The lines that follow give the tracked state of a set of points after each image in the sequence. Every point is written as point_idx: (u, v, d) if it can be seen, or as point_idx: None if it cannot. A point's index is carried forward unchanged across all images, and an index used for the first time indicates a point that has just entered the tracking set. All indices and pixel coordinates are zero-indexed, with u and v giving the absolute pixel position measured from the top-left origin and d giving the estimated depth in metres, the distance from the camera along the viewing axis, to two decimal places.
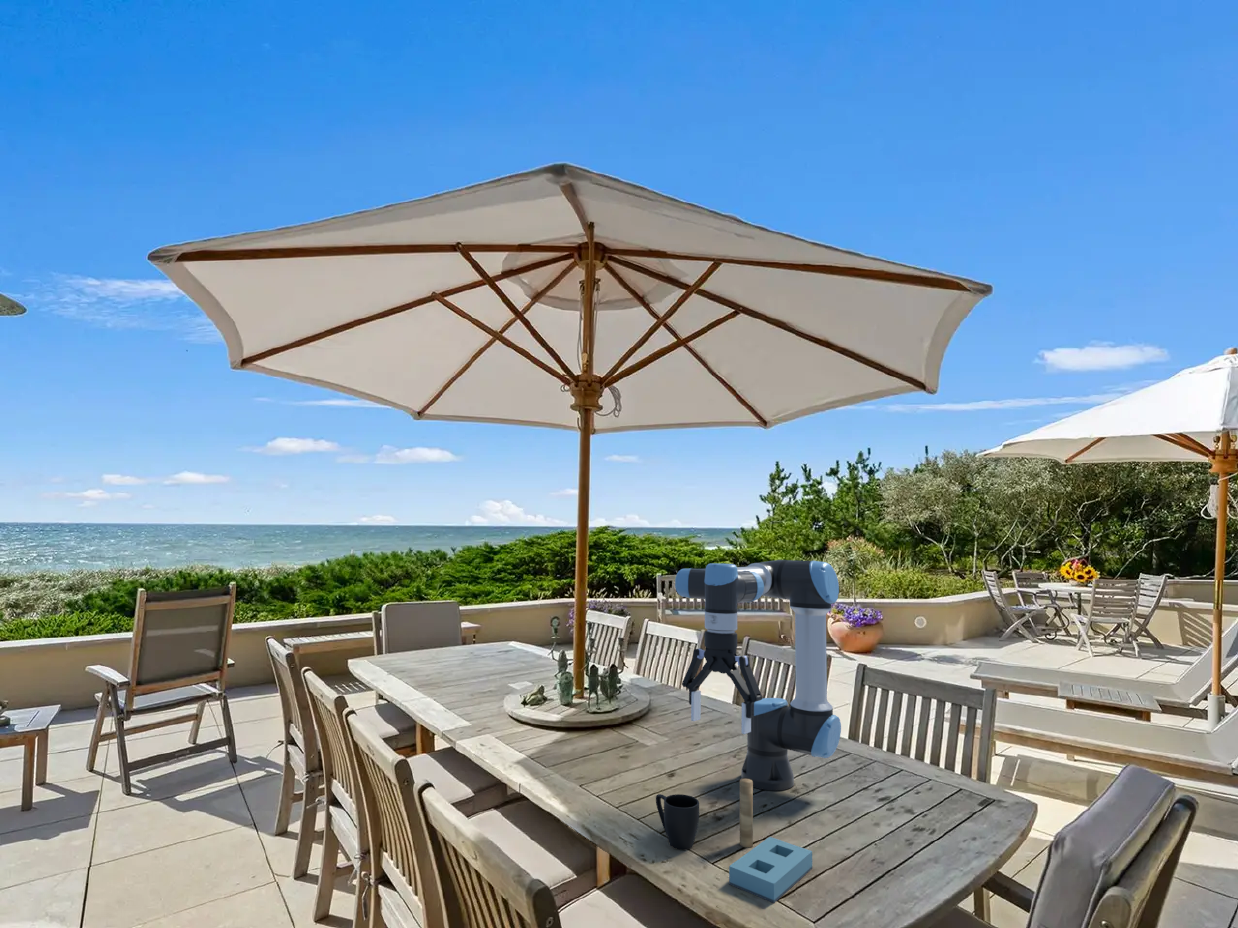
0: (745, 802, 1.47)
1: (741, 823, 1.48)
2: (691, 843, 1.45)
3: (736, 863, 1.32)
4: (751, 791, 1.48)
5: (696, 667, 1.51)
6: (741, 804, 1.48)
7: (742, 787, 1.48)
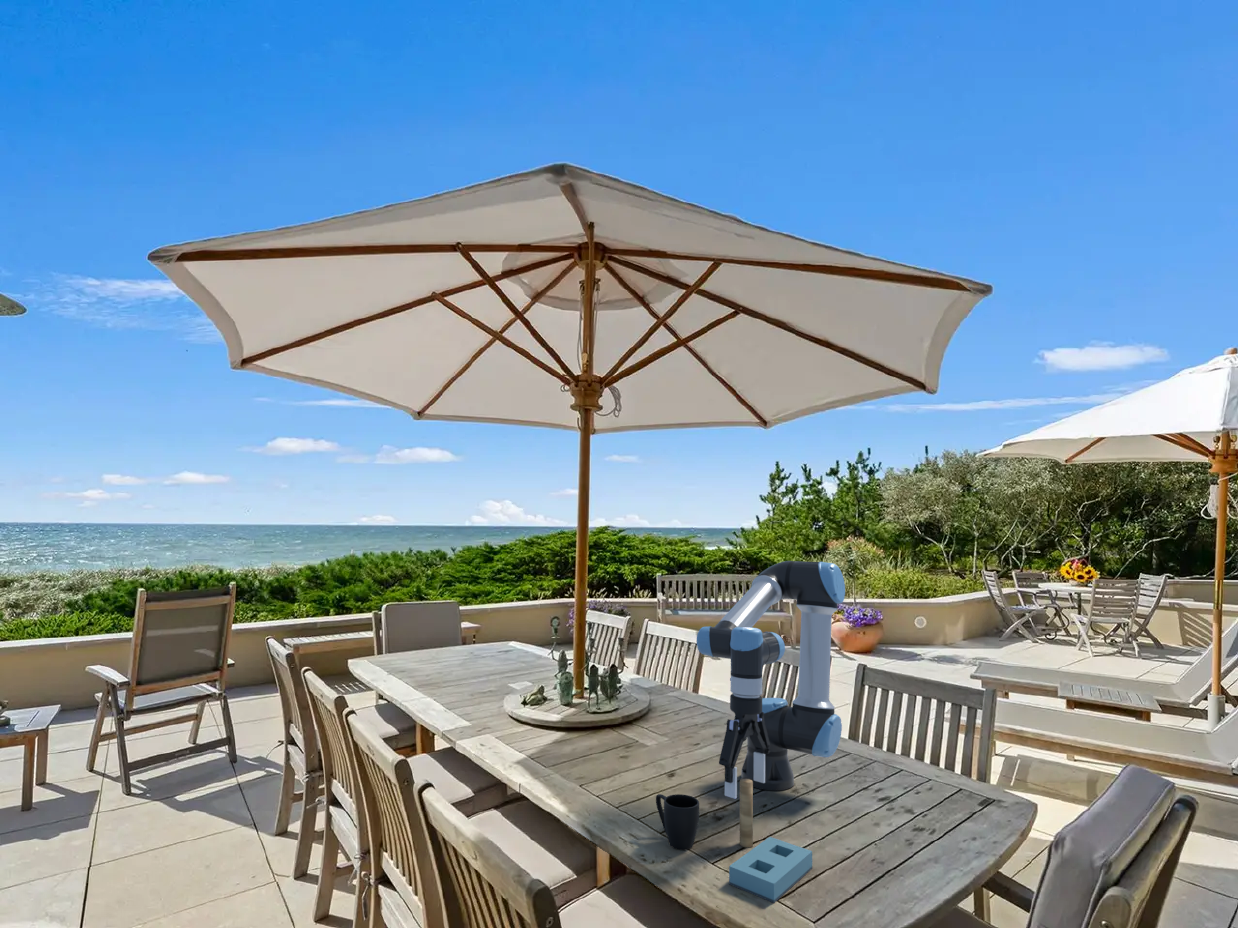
0: (745, 802, 1.47)
1: (741, 823, 1.48)
2: (691, 843, 1.45)
3: (736, 863, 1.32)
4: (751, 791, 1.48)
5: (760, 730, 1.56)
6: (741, 804, 1.48)
7: (742, 787, 1.48)
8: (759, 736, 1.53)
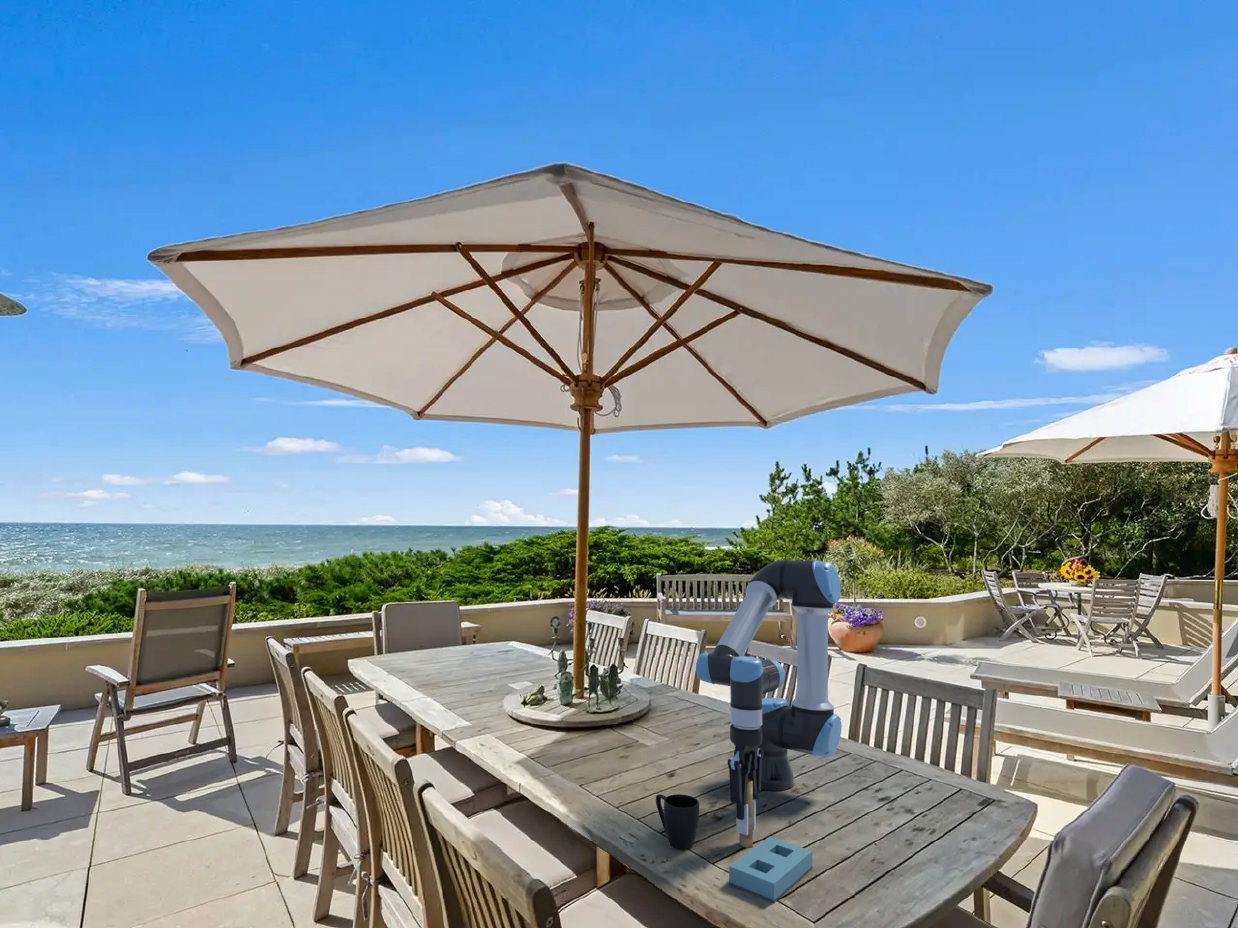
0: None
1: None
2: (691, 843, 1.45)
3: (736, 863, 1.32)
4: (751, 791, 1.48)
5: (755, 768, 1.53)
6: None
7: None
8: (754, 774, 1.50)
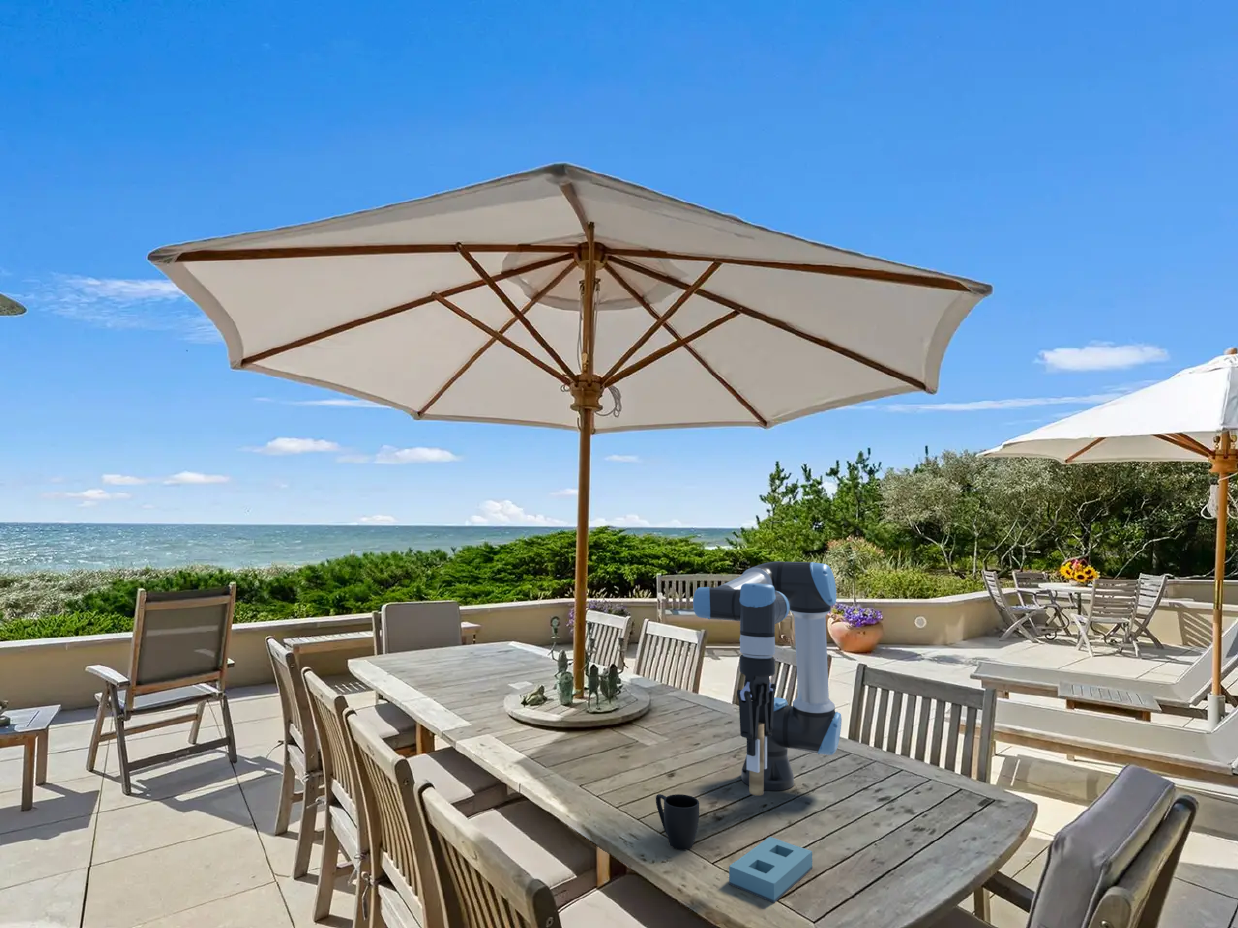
0: None
1: None
2: (691, 843, 1.45)
3: (736, 863, 1.32)
4: (762, 734, 1.36)
5: (767, 704, 1.41)
6: None
7: None
8: (766, 708, 1.38)
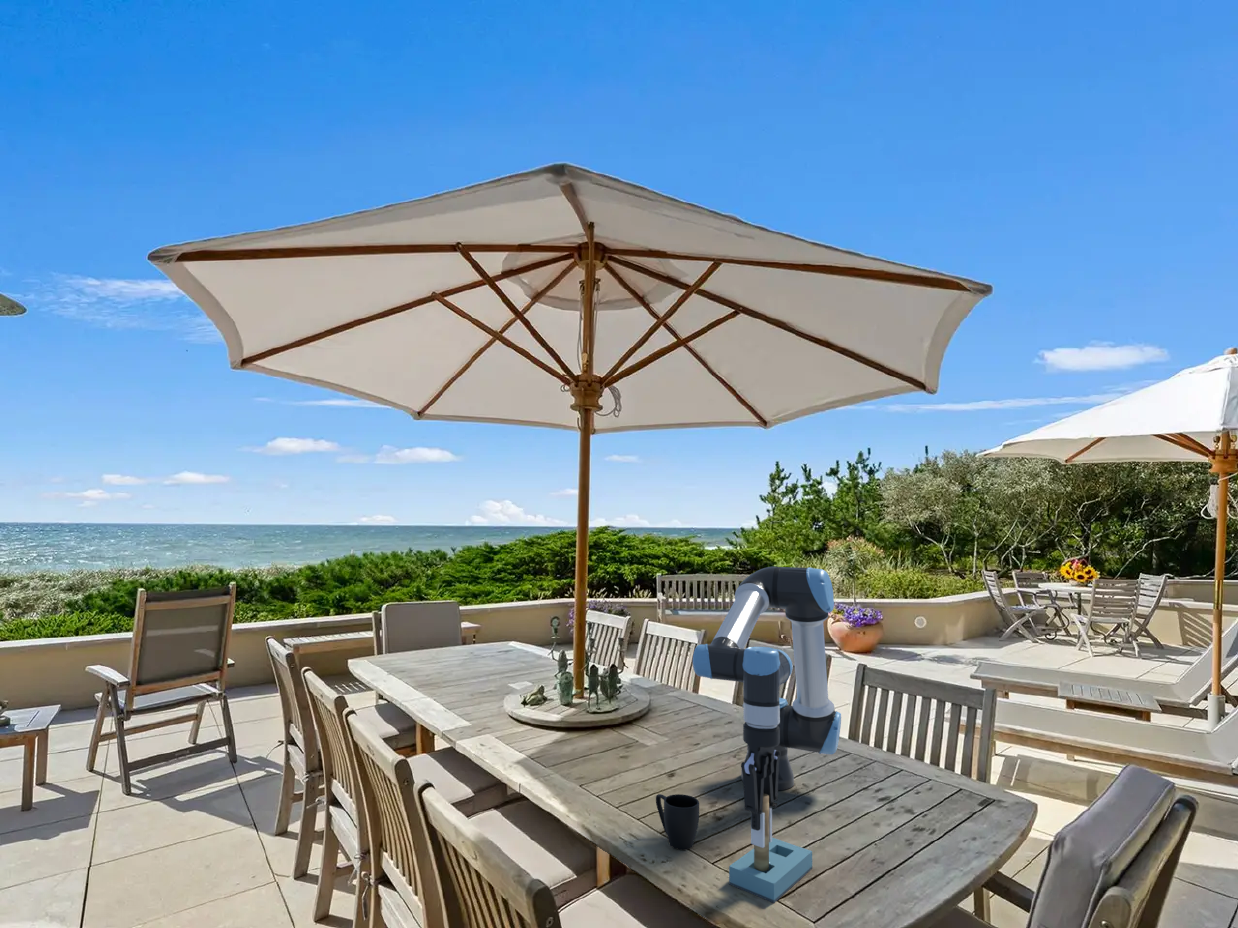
0: None
1: None
2: (691, 843, 1.45)
3: (736, 863, 1.32)
4: (767, 807, 1.31)
5: (771, 772, 1.36)
6: None
7: None
8: (770, 779, 1.34)
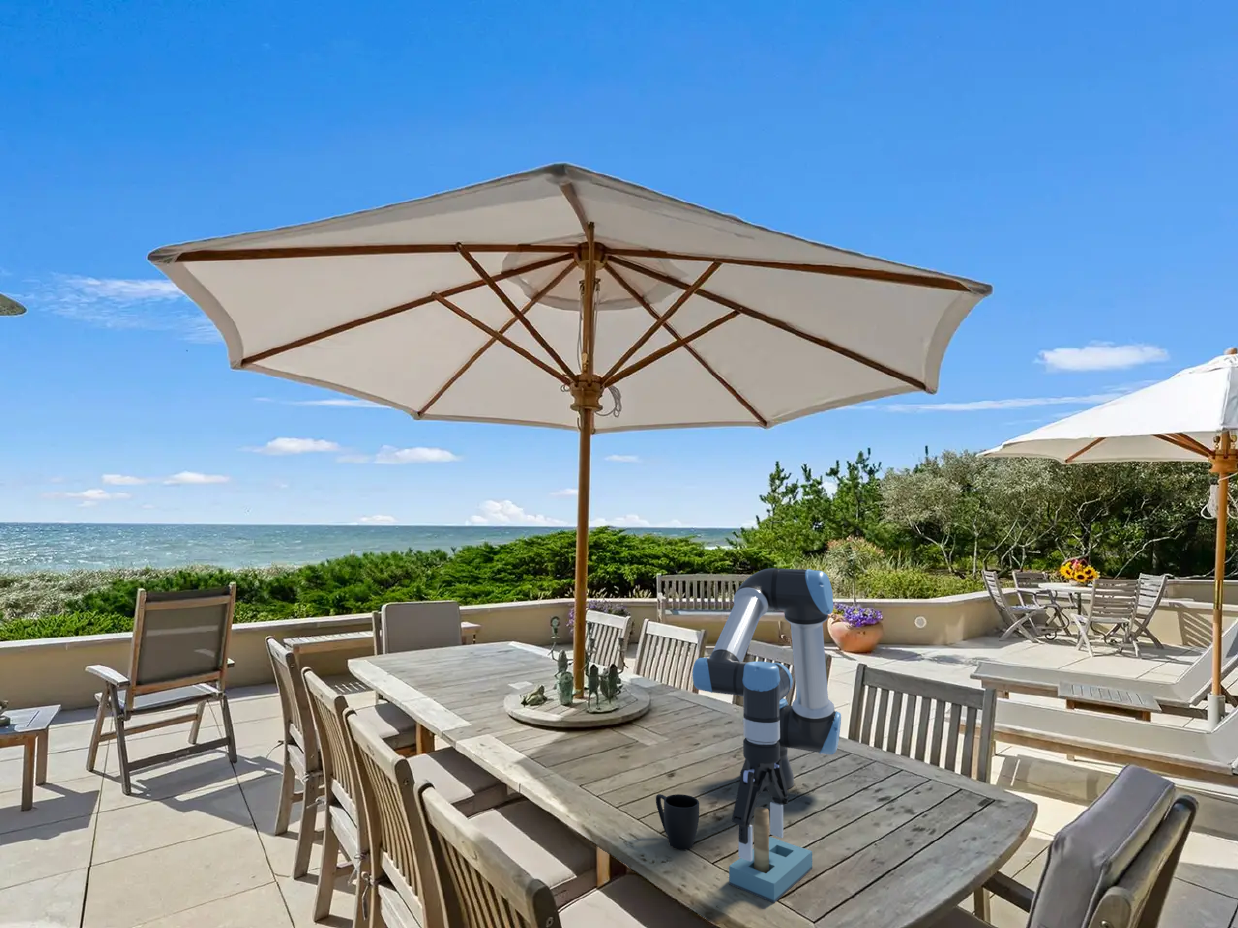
0: (760, 835, 1.30)
1: (756, 858, 1.30)
2: (691, 843, 1.45)
3: (736, 863, 1.32)
4: (767, 822, 1.31)
5: (777, 777, 1.38)
6: (756, 836, 1.31)
7: (757, 817, 1.31)
8: (776, 785, 1.35)
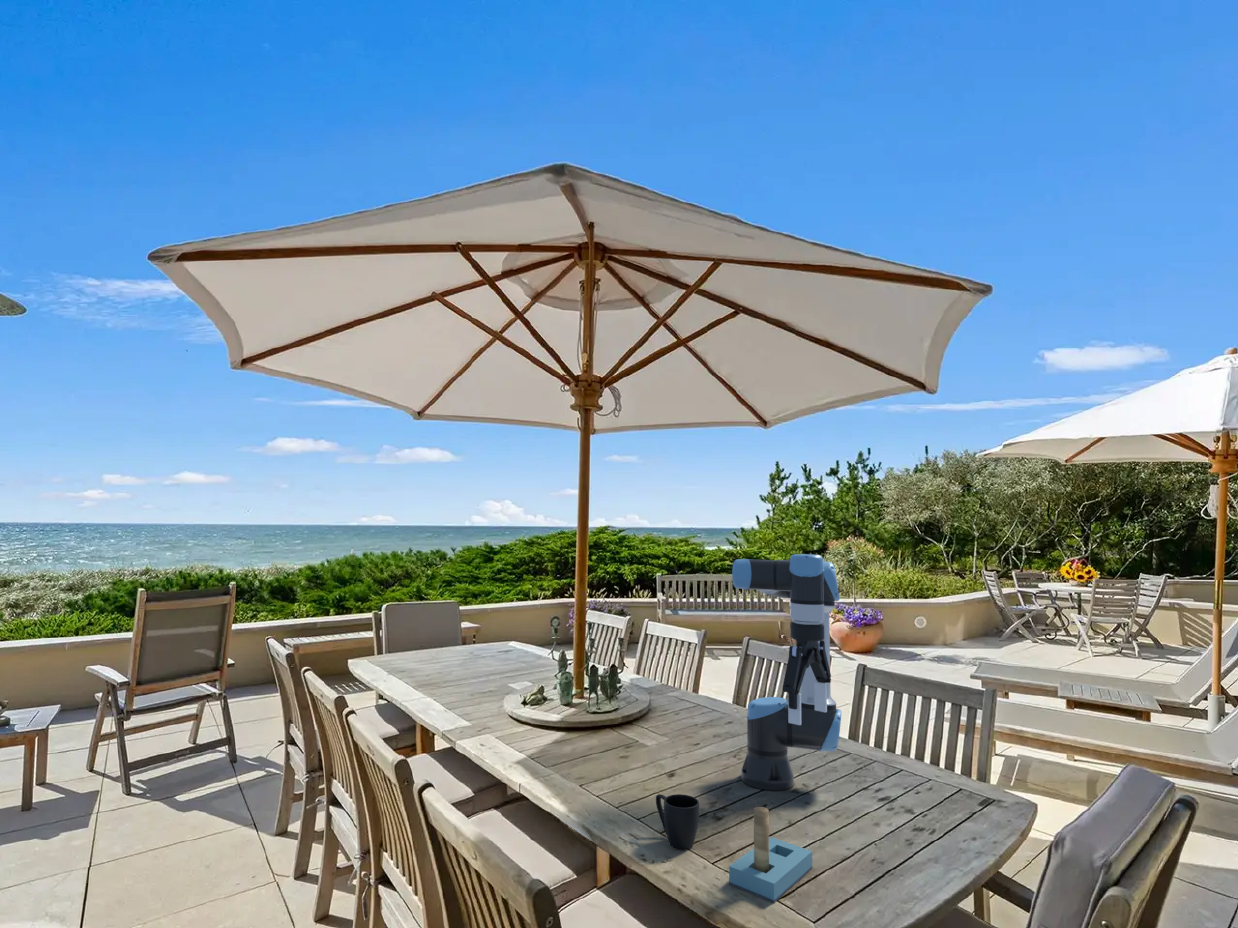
0: (760, 835, 1.30)
1: (756, 858, 1.30)
2: (691, 843, 1.45)
3: (736, 863, 1.32)
4: (767, 822, 1.31)
5: (820, 659, 1.51)
6: (756, 836, 1.31)
7: (757, 817, 1.31)
8: (820, 665, 1.48)
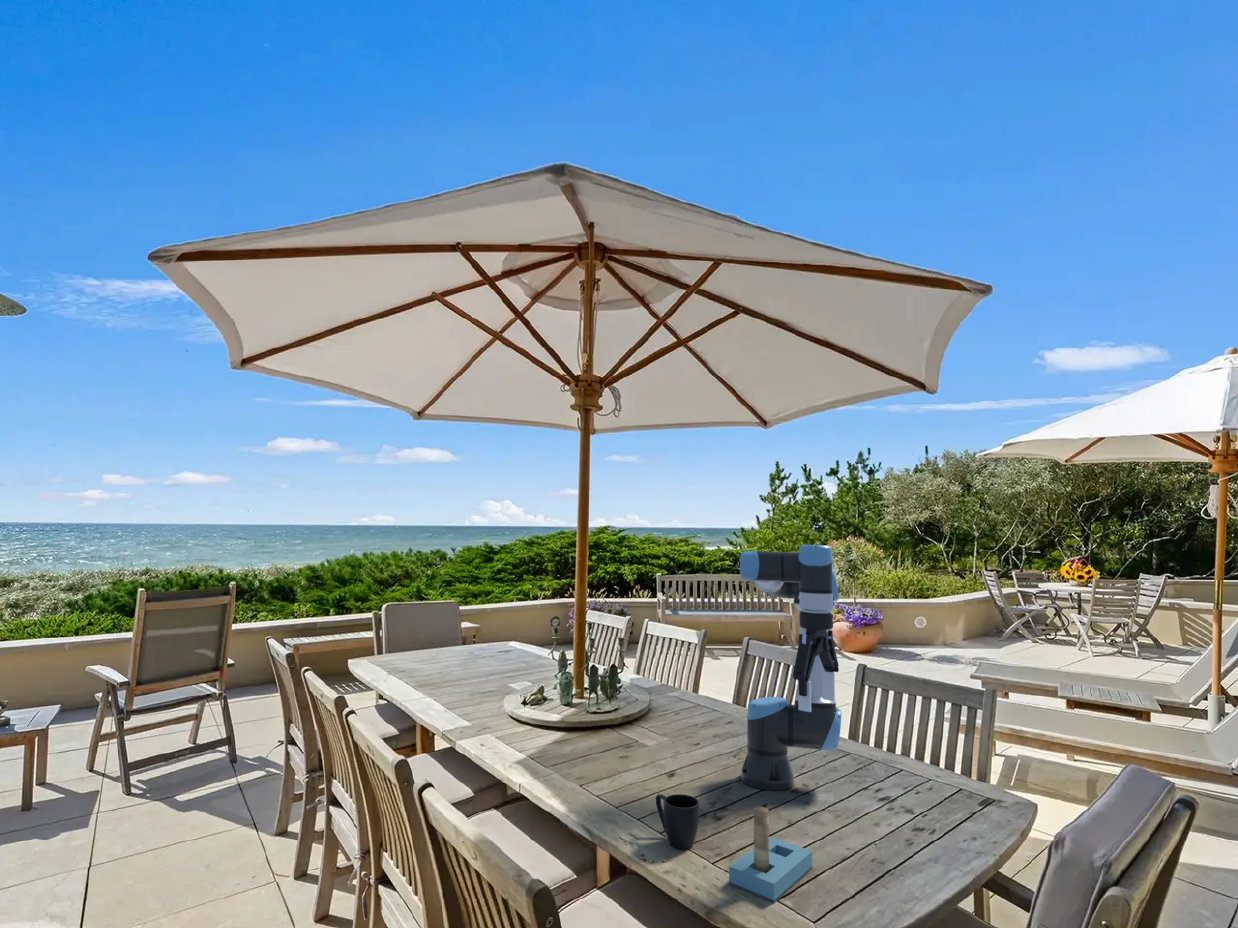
0: (760, 835, 1.30)
1: (756, 858, 1.30)
2: (691, 843, 1.45)
3: (736, 863, 1.32)
4: (767, 822, 1.31)
5: None
6: (756, 836, 1.31)
7: (757, 817, 1.31)
8: (829, 654, 1.51)
